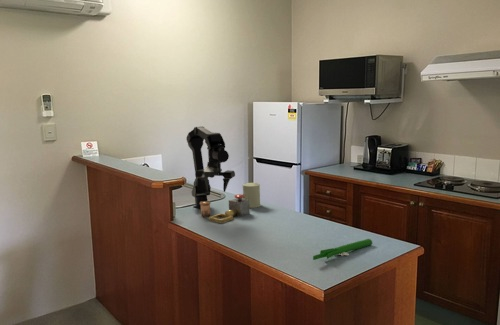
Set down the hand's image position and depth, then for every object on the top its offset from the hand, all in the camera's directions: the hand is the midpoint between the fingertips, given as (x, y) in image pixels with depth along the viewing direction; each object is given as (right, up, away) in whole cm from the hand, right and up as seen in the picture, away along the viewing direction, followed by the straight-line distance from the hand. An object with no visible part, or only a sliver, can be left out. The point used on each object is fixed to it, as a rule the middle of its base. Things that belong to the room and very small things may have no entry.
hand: (215, 191), depth 198 cm
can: (+18, -9, +19) cm, 28 cm away
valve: (+10, -12, +2) cm, 16 cm away
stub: (-5, -12, +2) cm, 14 cm away
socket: (+3, -13, -5) cm, 15 cm away
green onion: (+50, -19, -52) cm, 75 cm away
